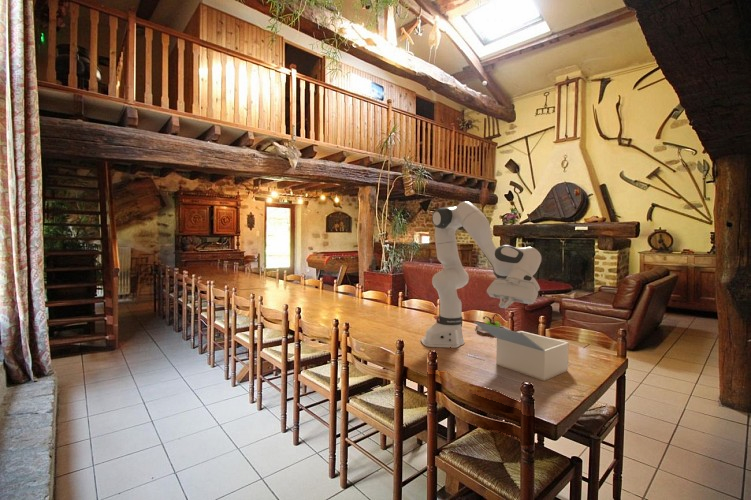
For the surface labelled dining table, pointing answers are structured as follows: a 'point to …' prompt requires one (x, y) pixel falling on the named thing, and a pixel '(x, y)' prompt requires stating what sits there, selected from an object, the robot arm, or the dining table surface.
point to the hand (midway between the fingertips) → (502, 307)
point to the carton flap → (509, 336)
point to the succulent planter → (492, 323)
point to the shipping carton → (534, 357)
